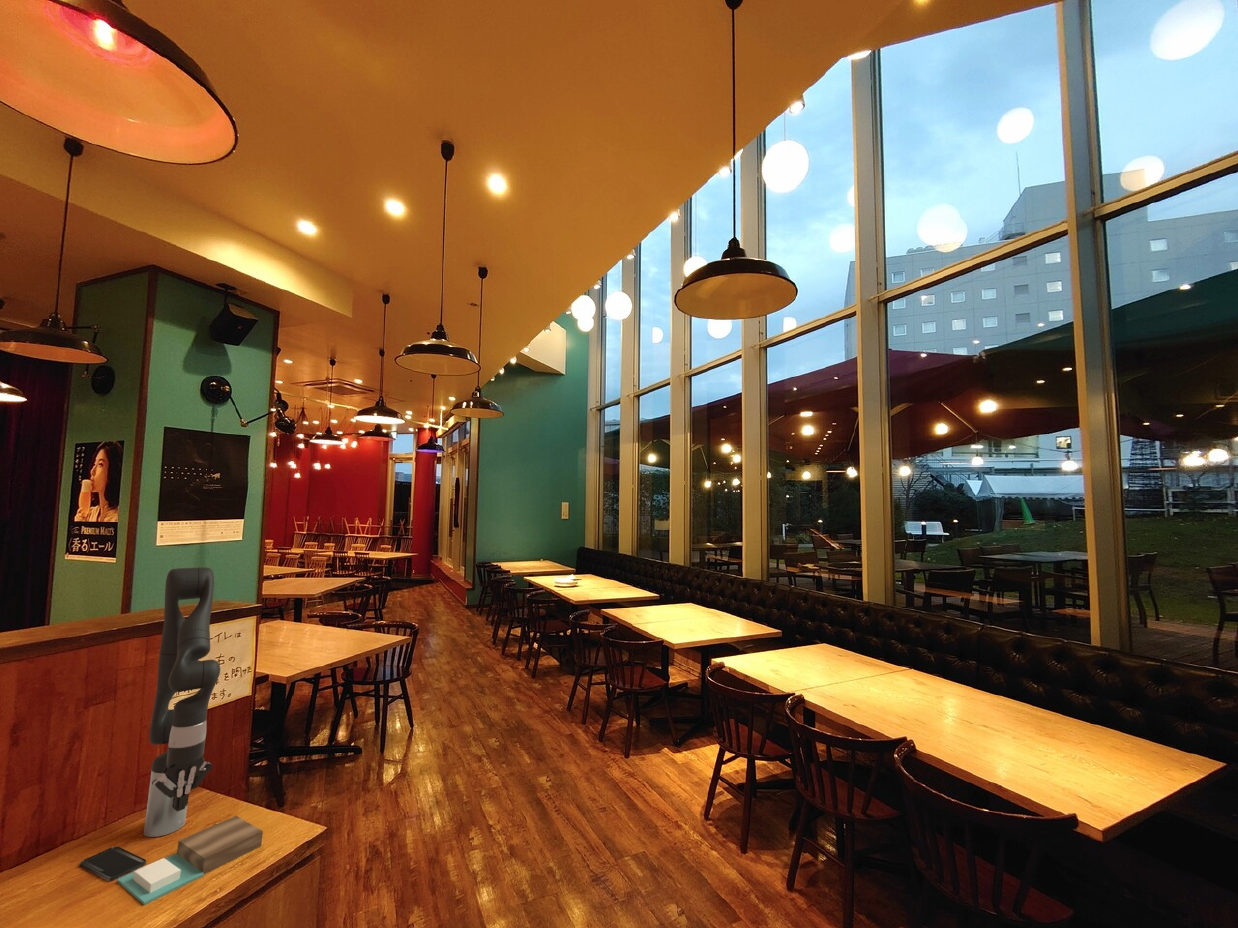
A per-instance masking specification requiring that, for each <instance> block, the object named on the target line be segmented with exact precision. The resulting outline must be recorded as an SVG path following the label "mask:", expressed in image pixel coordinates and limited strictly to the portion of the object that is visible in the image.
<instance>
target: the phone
mask: <svg viewBox="0 0 1238 928" xmlns="http://www.w3.org/2000/svg"><path fill="white" fill-rule="evenodd" d="M145 866H147V860H146V859H145V858H143V857H140V856H138V855H137V854H135V853H133V852H131V851H128V850H126V849H124V848H122V847H120V846H117V845H115V846H111V847H109V848H107V849H105V850H102V851H100V852H97V853H95V854H93V855H92V856H89V857H86V858H85V859H83V860H81V861H80V862H79V867H80V868H82V869H84V870H86V871H88V872H89V873H91V874H94V875H95V876H97V877H99V878H101V879H103V880H105V881H107V882H115V881H116V880H117V881H118V879H119V878H121V877H124V876H126V875H128V874H130V873H133V872H134V871H136V870H138V869H140V868H142V867H145Z"/></svg>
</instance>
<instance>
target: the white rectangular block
mask: <svg viewBox="0 0 1238 928" xmlns="http://www.w3.org/2000/svg"><path fill="white" fill-rule="evenodd" d="M165 858H166V857H163V858H161V859H158V860H156V861H154V862H152V863H149V864H146V865H144V866H143V867H141V868H139V869H137V870H135V871H133V872H134V878H133V880H134V881H136V882H137V883H138V884H139V885H141V886H142V887H143V888H144V889H146V890H147V891H148V892H149V893H151V892H153V891H155V890H157V889H159V888H162V887H164V886H166V885H168V884H170V883H172V882H174V881H176V880H178V879H180V874H181V870H180V869H179V868H177V867H176V866H175V865H173V864H172V863H170V862H169V861H168V860H166V859H165Z"/></svg>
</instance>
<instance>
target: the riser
mask: <svg viewBox="0 0 1238 928" xmlns="http://www.w3.org/2000/svg"><path fill="white" fill-rule="evenodd" d="M263 833H264V830H262V829H261V828H259V827H257V826H255V825H254V824H252V823H250V822H248V821H246V820H245V819H243V818H241V817H239V816H238V815H235V816H232V817H230V818H227V819H225V820H223V821H221V822H218V823H216V824H213V825H211V826H209V827H206V828H205V829H202V830H200V831H197V832H195V833H193V834H191V835H188V836H186V837H183V838H181V839H178V841H177V842H178V843H177V850H176V854H178V855H179V856H181V857H182V858H183V859H185V860H186V861H188V862H189V863H190V864H192V865H193V866H195V867H196V868H197V869H199V870H200V871H201V872H203V873H204V875H206V874H207V873H209V872H212V871H213V870H216V869H218V868H220V867H222V866H223V865H226V864H228V863H230V862H232V861H234V860H236V859H239V858H240V857H242V856H244V855H247V854H249V853H250V852H252V851H255V850H256V849H258V848H261V847H262V845H263V844H262V841H263Z"/></svg>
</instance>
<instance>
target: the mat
mask: <svg viewBox="0 0 1238 928" xmlns="http://www.w3.org/2000/svg"><path fill="white" fill-rule="evenodd" d="M164 858H165V859H166V860H168V861H169V862H170V863H172V864H173V865H175V866H176V867H177V868H179V869H180V870H181V874H180V879H178V880H176V881H174V882H172V883H170V884H168V885H166V886H164V887H162V888H159V889H157V890H155V891H153V892H151V893H149V892H148V891H147V890H146V889H144V888H143V887H142V886H141V885H139V884H138V883H137V882H136V881H134V880H133V878H134V871H133V872H131V873H129V874H127V875H125V876H123V877H121V878H119V879H117V883H118V884H119V885H120V886H121V887H122V888H124V889H125V890H126V891H128V892H129V893H130V894H131V895H132V896H133V897H134V898H136V899H137V900H138V902H140V903H141V904H142V905H143V906H146V905H147V904H149V903H151V902H154V901H156V900H157V899H158V900H159V898H162V897H164V896H166V895H167V894H169V893H173V892H174V891H175V890H177V889H180V888H182V887H183V886H186V885H189V883H192V882H194V881H196V880H198V879H199V878H202V877H204V876H205V874H204V873H203V872H201V871H200V870H199V869H197V868H196V867H195V866H193V865H192V864H190V863H189V862H188V861H186V860H185V859H183V858H182V857H181V856H179V855H178V854H177V853H174V854H171V855H169V856H167V857H164Z"/></svg>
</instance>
